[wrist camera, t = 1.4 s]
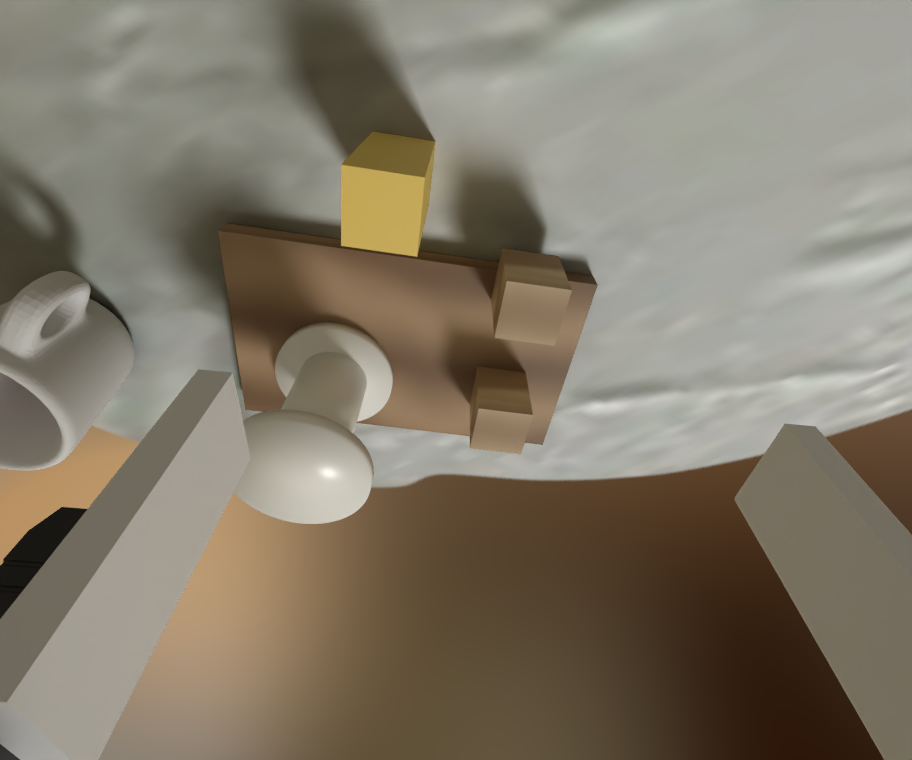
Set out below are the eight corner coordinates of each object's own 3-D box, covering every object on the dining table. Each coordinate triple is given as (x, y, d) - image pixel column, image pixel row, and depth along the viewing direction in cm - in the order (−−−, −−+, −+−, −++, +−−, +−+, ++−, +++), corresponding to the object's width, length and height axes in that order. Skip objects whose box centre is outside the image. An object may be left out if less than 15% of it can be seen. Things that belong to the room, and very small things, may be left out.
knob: (274, 314, 27) (208, 412, 20) (397, 330, 28) (373, 431, 21) (283, 408, 31) (231, 516, 24) (390, 421, 32) (368, 530, 25)
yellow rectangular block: (372, 131, 23) (341, 164, 17) (435, 141, 23) (424, 177, 17) (370, 196, 24) (341, 246, 19) (428, 204, 25) (417, 256, 19)
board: (223, 199, 25) (173, 234, 20) (599, 254, 26) (625, 297, 22) (252, 398, 32) (220, 452, 28) (540, 432, 34) (550, 490, 30)
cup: (33, 201, 25) (-119, 261, 18) (185, 286, 28) (100, 364, 21) (5, 342, 30) (-121, 427, 24) (135, 402, 33) (54, 493, 26)
